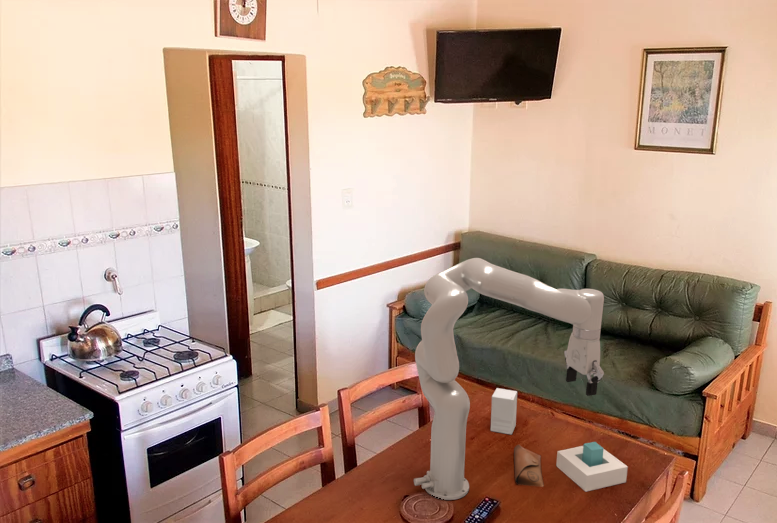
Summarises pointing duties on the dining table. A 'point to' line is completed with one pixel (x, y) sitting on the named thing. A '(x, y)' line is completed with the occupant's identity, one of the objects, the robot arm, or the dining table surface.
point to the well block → (591, 469)
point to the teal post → (592, 454)
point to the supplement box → (503, 411)
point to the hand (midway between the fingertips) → (580, 387)
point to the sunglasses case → (527, 467)
